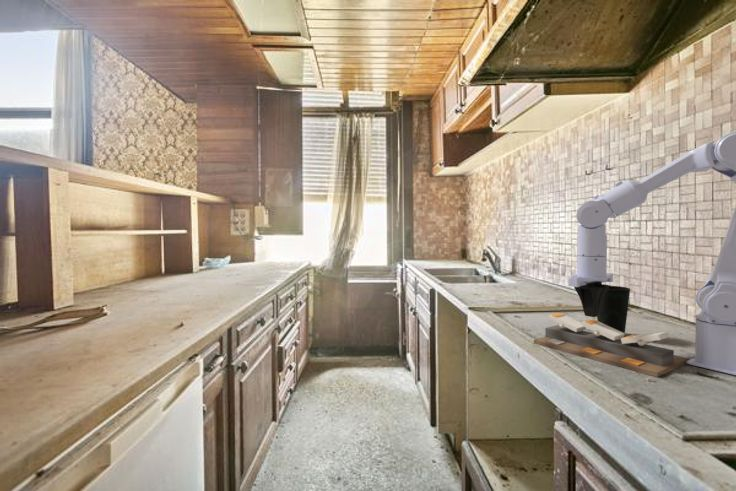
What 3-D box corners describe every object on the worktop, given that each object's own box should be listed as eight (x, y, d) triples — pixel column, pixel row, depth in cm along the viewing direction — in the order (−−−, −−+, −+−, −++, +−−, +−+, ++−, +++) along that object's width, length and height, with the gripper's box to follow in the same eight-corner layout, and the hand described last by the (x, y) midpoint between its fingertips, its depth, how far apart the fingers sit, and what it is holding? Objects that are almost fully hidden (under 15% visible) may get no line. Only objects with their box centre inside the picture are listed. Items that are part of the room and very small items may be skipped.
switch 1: (585, 332, 88) (587, 325, 87) (575, 334, 86) (577, 327, 85) (557, 319, 94) (559, 312, 93) (547, 321, 92) (549, 314, 91)
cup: (594, 336, 95) (595, 288, 94) (592, 329, 101) (593, 284, 101) (631, 340, 91) (632, 290, 91) (627, 332, 98) (627, 286, 97)
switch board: (689, 362, 75) (689, 347, 75) (657, 377, 68) (657, 360, 68) (568, 334, 97) (568, 322, 97) (533, 343, 89) (533, 330, 89)
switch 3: (670, 340, 74) (667, 330, 74) (661, 343, 72) (657, 333, 72) (633, 344, 79) (629, 335, 80) (623, 347, 77) (620, 338, 78)
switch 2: (622, 340, 81) (625, 332, 81) (612, 343, 79) (615, 335, 79) (590, 325, 87) (592, 318, 86) (580, 328, 85) (582, 320, 84)
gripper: (591, 253, 91) (590, 309, 92) (555, 256, 84) (554, 316, 84) (623, 255, 85) (622, 314, 86) (587, 258, 78) (586, 323, 78)
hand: (591, 316), depth 85 cm, fingers closed
